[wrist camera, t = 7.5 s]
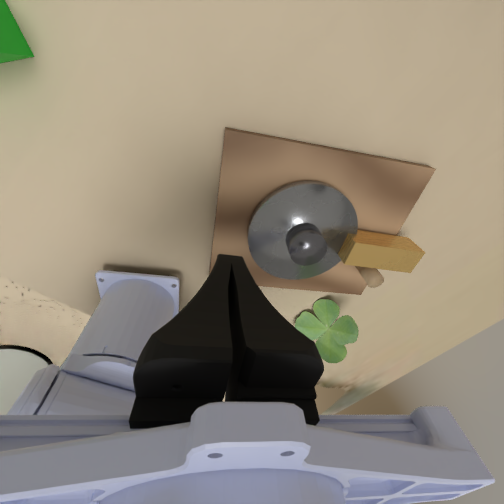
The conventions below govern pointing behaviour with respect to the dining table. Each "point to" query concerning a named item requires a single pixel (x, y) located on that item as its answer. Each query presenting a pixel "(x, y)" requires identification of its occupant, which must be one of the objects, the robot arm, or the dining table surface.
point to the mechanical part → (11, 37)
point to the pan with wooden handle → (319, 235)
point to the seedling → (328, 330)
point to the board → (316, 169)
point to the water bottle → (17, 372)
